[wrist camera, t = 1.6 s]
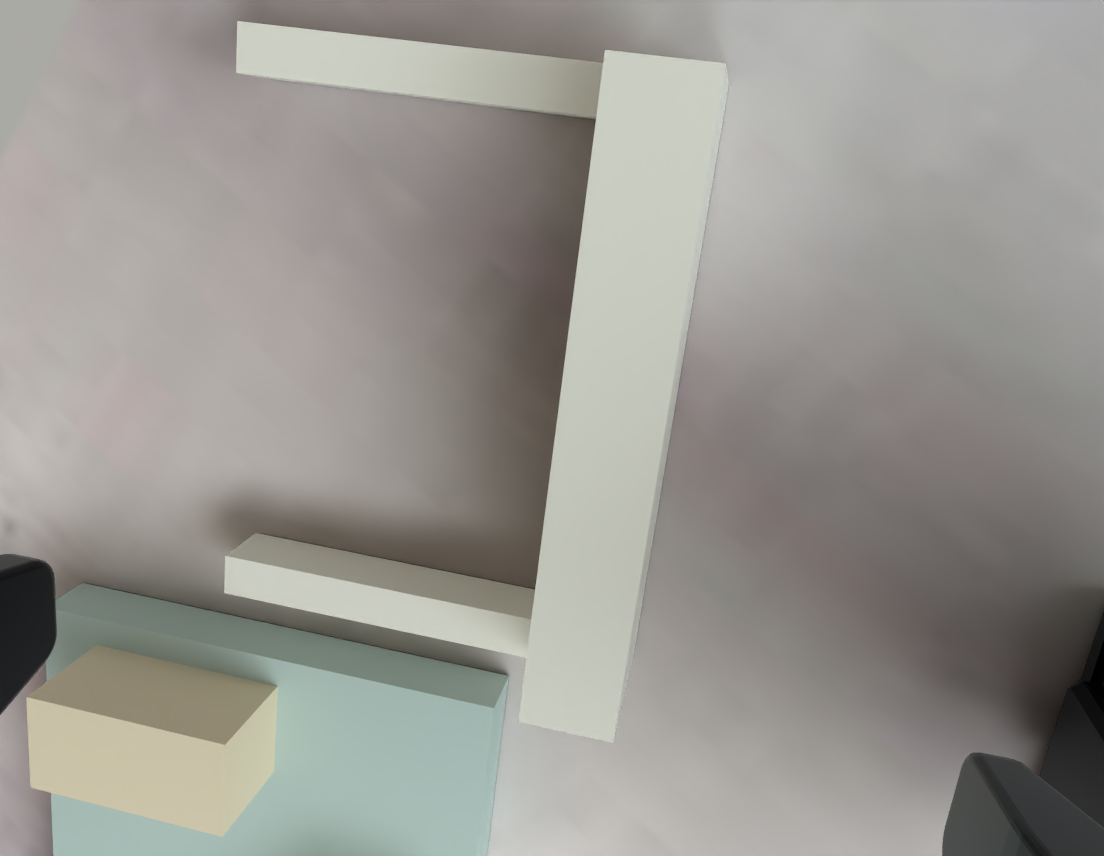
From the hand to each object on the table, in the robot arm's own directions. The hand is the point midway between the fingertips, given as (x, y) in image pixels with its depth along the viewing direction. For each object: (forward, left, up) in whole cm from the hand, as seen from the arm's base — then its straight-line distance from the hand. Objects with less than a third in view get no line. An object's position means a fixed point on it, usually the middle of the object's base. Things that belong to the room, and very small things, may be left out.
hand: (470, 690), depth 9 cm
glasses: (+4, 0, -13) cm, 13 cm away
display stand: (+8, +16, -13) cm, 22 cm away
